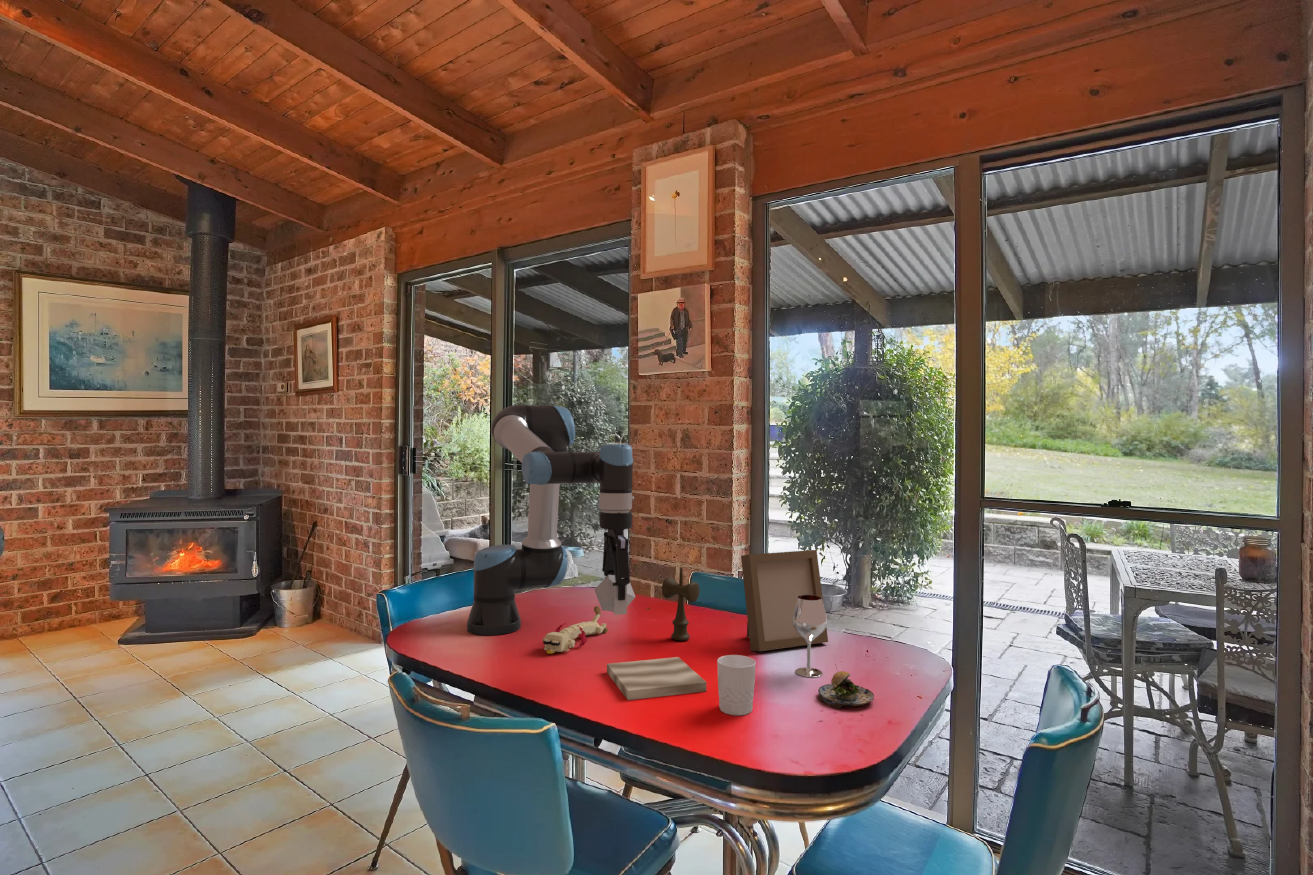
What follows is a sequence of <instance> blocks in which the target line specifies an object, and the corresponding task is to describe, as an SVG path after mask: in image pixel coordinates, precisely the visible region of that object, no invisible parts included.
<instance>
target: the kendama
mask: <svg viewBox="0 0 1313 875" xmlns="http://www.w3.org/2000/svg"><path fill="white" fill-rule="evenodd" d="M683 574H684V573H683V567H679V579H678V581H679V582H678V581H677V580H676V579H675V578H674V577H672V576H667V577H666V578H665V579H663V582H662V586H661V593H662V596H663V598H665V599H671V598H672V597H674V596H677V595H678V599H677V607H676V612H675V618H674V619H673V620H672V622H671V624H672V625H673V632H672V633H671V635H670V637H671V638H670V639H672V640H675V641H677V642H678V641H683V642H684V641H687V640H689V639H690V638H691V636H690V634H689V632H688V625H689V624H690V621H688V619H687V616H686V610H685V603H684V602H685V601H684V598H685V599H686V601H687V602H689V603H695V602H697V601H698V600H699V597H700V586H699V584H698V582H696V581H692V582H690V583H688V584H686V585H685V584H684V582H683V581H684V580H683V579H684V577H683Z"/></svg>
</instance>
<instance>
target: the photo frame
mask: <svg viewBox="0 0 1313 875" xmlns="http://www.w3.org/2000/svg"><path fill="white" fill-rule="evenodd" d="M740 561H741V570H742V580H743V588H744V598H745V607H746V608H745V609H746V617H747V618H746V619H747V621H746V622H747V624H746V638H749V646H750V651H751V652H752V651H754V652H765V651H773V650H780V649H786V648H793V647H795V648H796V647H800V646H807V642H806V640H805V639H804V638H803V637H802V636H801V635H800V634H799V633H798V632H797V631H796V630H795V628H794V626H793V624H792V615H793V611H794V607H795V603H796V600H797V597H798V596H800V595H815V596H819V597H821V598H822V600H823V601H824V598H823V596H824V595H823V589H822V582H821V574H820V573H821V572H820V567H819V559H818V550H817V549H809V550H796V551H795V550H793V551H781V552H780V551H779V552H768V553H767V552H765V553H754V554H753V553H752V554H743V555H740ZM827 629H828V628H827V627H826V628H825V630H824V631H823V632H822V633H821V634H820V635H819V636H817V637H816V638H815V639H814V640H813V641H812V642H811V645H815V644H816V645H817V644H822V643H829V637H828V630H827Z"/></svg>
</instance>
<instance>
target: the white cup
mask: <svg viewBox="0 0 1313 875" xmlns="http://www.w3.org/2000/svg"><path fill="white" fill-rule="evenodd" d="M716 660H717V661H716V662H717V663H716V664H717V687H718V688H717V689H718V690H717V691H718V705H719V709H720V711H721V712H722V713H724V714H727V715H730V716H745V715H748V714H751V713H752V711H753V708H754V707H753V705H754V703H753V702H754V696H755V695H754V694H755V679H756V665H757V664H756V663H757V662H756V660H755V659H753V658H752V657H750V656H746V655H741V654H740V655H739V654H729V655H722V656H720V657H718V658H717V659H716Z"/></svg>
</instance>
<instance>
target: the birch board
mask: <svg viewBox="0 0 1313 875" xmlns="http://www.w3.org/2000/svg"><path fill="white" fill-rule="evenodd" d="M606 673H607V675H608V676H609V677H610V678H611V680H612V682H613V683H614V684H615V685H616V687H617V688H618V689H619V690H620V692H621V693H622V695H623V696H624V698H625V699H626V700H627V701H633V700H634V701H635V700H640V699H641V700H642V699H650V698H659V697H667V696H669V697H670V696H676V695H686V694H695V693H701V692H707V681H706V680H705V679H704V678H703V677H701V676H700V675H699V674H698V673H697V672H696V671H694V670H693V669H692V668H691V667H690V666H689V665H688V664H687V663H685V661H684V660H683V659H681V657H679V656H675V657H673V656H672V657H664V658H655V659H645V660H644V659H642V660H635V661H633V660H632V661H623V662H613V663H611V662H610V663H606Z"/></svg>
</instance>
